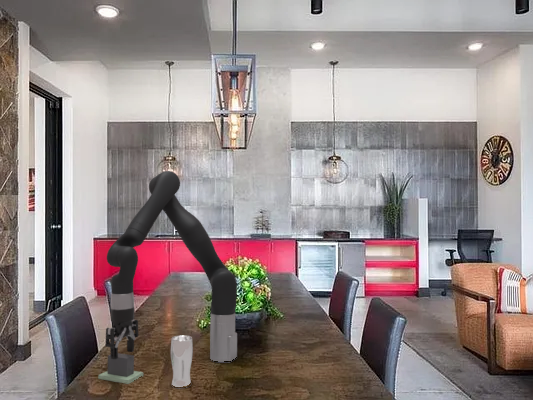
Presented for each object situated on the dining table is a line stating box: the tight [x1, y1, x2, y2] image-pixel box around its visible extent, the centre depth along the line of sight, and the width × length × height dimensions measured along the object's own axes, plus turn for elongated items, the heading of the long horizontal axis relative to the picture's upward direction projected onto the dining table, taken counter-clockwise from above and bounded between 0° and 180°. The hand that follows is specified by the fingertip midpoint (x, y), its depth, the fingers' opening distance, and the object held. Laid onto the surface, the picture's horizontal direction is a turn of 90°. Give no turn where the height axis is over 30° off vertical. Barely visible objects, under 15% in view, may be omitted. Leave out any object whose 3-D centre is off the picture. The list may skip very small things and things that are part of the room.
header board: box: [97, 370, 144, 385], centre depth 165 cm, size 12×8×5 cm, turn 68°
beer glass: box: [170, 334, 194, 387], centre depth 158 cm, size 7×7×15 cm
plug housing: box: [107, 352, 135, 377], centre depth 165 cm, size 8×4×6 cm, turn 69°
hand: (122, 355), depth 164 cm, fingers open, 8 cm apart
